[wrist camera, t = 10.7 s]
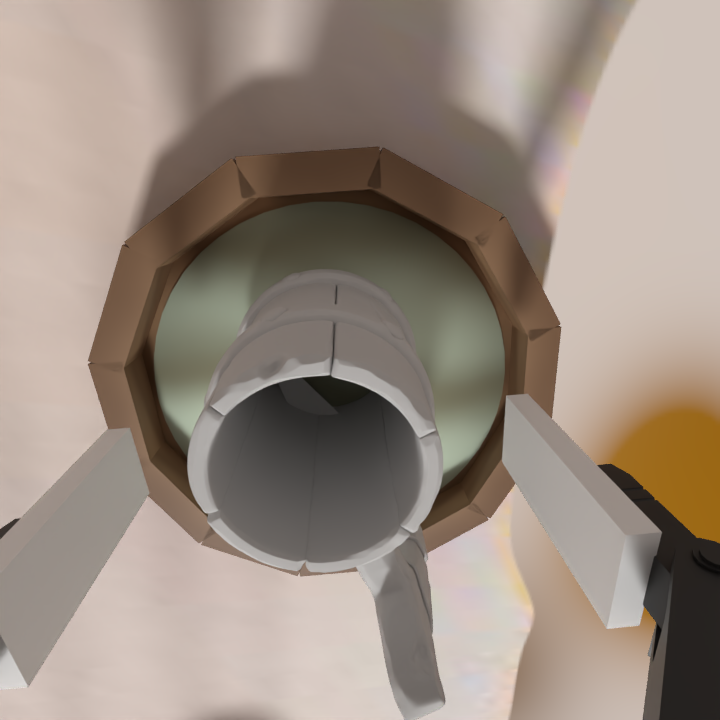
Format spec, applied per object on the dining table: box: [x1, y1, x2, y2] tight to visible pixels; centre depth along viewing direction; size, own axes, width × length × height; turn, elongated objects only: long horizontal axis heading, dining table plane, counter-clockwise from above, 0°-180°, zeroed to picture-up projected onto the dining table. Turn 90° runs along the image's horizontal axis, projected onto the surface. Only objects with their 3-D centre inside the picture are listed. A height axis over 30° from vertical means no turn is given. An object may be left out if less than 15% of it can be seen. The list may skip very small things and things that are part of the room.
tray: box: [88, 147, 561, 576], centre depth 20 cm, size 20×20×3 cm
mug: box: [187, 269, 445, 720], centre depth 15 cm, size 8×12×12 cm, turn 25°
